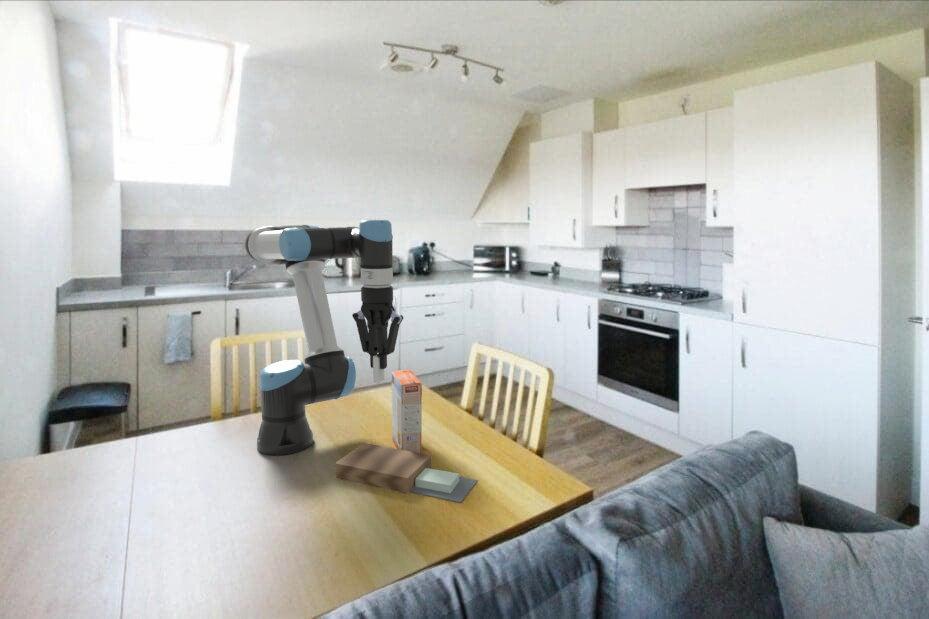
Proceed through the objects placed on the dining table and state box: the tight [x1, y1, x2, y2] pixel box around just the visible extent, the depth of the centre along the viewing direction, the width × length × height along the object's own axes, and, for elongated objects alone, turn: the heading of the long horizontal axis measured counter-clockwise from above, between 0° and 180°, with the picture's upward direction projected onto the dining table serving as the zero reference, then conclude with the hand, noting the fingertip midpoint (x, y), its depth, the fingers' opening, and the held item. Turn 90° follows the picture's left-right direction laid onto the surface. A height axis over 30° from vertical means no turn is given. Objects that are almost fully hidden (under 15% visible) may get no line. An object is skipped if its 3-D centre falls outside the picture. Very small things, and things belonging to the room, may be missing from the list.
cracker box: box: [391, 369, 423, 454], centre depth 148 cm, size 14×6×21 cm, turn 18°
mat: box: [409, 475, 478, 504], centre depth 129 cm, size 13×11×1 cm
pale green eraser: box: [415, 468, 460, 493], centre depth 129 cm, size 9×6×2 cm, turn 71°
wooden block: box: [334, 442, 432, 495], centre depth 135 cm, size 20×13×4 cm, turn 69°
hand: (379, 380), depth 131 cm, fingers closed
